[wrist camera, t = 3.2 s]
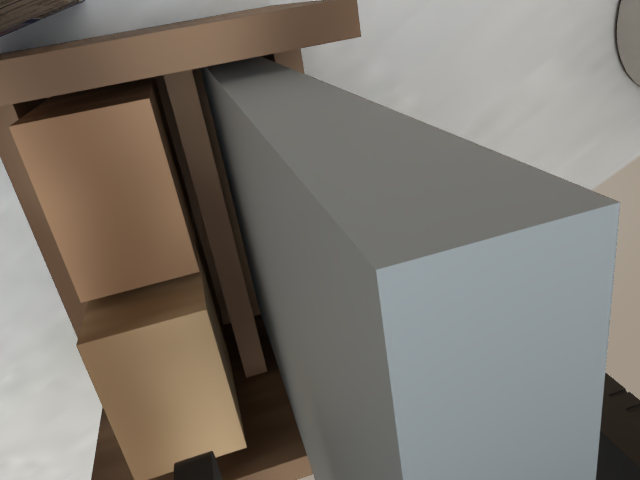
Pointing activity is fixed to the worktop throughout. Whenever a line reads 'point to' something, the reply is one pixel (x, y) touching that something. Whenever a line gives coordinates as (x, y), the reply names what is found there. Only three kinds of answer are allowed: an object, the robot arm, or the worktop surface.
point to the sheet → (416, 285)
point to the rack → (201, 184)
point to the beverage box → (28, 12)
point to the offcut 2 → (164, 371)
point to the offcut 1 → (110, 187)
